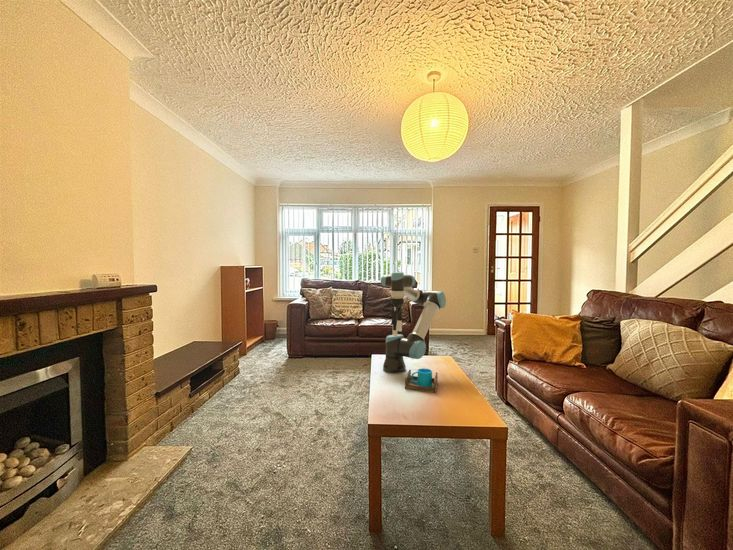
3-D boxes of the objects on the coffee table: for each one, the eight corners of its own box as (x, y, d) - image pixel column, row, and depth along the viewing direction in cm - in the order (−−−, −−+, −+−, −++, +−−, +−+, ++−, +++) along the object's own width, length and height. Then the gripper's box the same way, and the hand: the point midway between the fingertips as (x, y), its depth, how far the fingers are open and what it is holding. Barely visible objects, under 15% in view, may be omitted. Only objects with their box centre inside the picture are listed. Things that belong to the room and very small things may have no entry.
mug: (431, 382, 174) (431, 368, 174) (432, 388, 166) (432, 373, 166) (410, 381, 176) (410, 367, 175) (411, 387, 167) (411, 372, 167)
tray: (409, 379, 181) (409, 369, 180) (437, 382, 176) (437, 372, 175) (405, 388, 166) (405, 378, 166) (435, 392, 161) (435, 381, 161)
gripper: (395, 295, 190) (395, 329, 190) (386, 299, 166) (386, 337, 167) (407, 296, 188) (407, 329, 188) (399, 300, 164) (399, 338, 164)
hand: (397, 333), depth 177 cm, fingers open, 13 cm apart
